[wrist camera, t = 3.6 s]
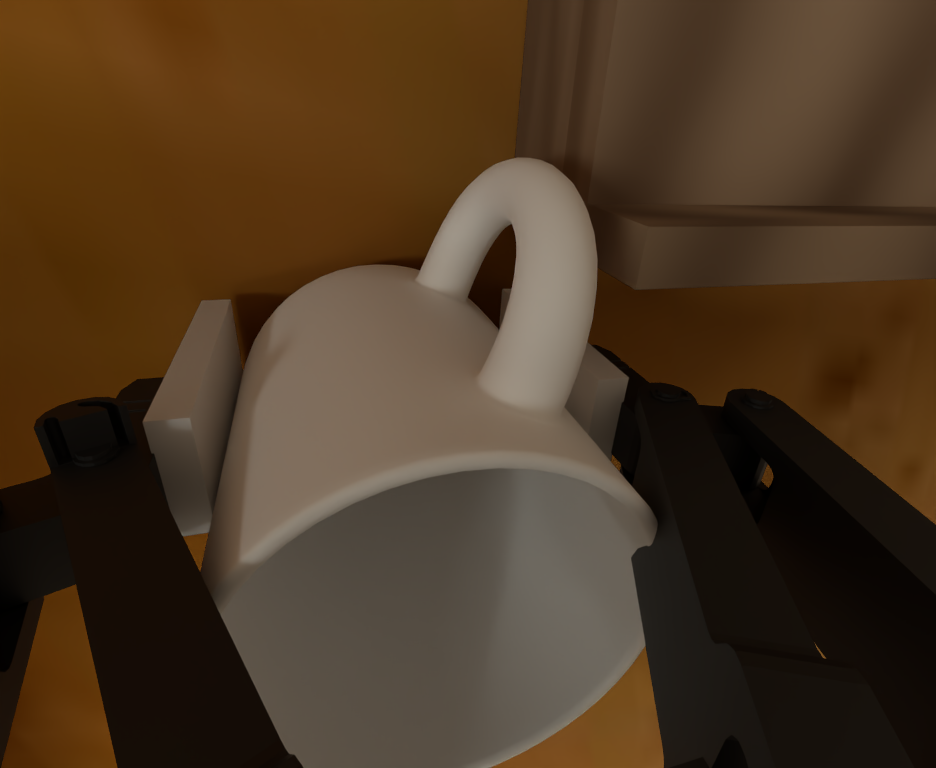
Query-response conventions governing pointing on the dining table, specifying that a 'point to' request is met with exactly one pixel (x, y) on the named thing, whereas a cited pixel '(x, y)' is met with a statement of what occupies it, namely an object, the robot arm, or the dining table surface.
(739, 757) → the robot arm
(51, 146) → the dining table surface
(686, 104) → the shelf
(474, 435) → the mug
